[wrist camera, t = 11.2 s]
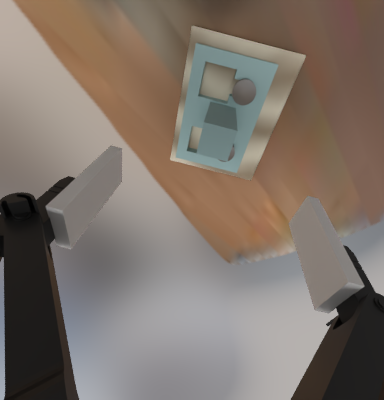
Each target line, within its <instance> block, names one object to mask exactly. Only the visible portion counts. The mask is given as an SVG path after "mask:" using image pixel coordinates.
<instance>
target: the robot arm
mask: <svg viewBox="0 0 384 400" xmlns="http://www.w3.org/2000/svg"><path fill="white" fill-rule="evenodd" d="M121 182H122V148H118V147H114V146H110V147H109V148H108V149H107V150H106V151H105V152H104V153H102V154H101V155H100V156H99V157H98V158H97V159H96V160H95V161H94V162H93V163H92V164H91V165H89V166H88V167H87V168H86V169H85V170H84V171H83V172H82V173H81V174H80V175H79V176H78V177H77V178H73V177H69V176H68V177H66V178H64V179H61V180H59V181H58V182H57V183H56V184H55V185H54V186H53V187H51V188H50V189H49V190H48V191H46V192H45V193H44V194H43V195H42V196H41V197H39V198H38V199H37V200H35V198H34V196H33V195H31V194H29V193H14V194H9V195H7V196H5V197H3V198H2V199H1V200H0V213H1V214H0V261H1V259H2V257H4V298H5V299H4V305H5V306H4V307H5V398H4V400H79V398H78V394H77V390H76V385H75V381H74V374H73V369H72V363H71V358H70V352H69V347H68V341H67V335H66V330H65V324H64V319H63V314H62V308H61V303H60V297H59V291H58V286H57V280H56V275H55V269H54V264H53V258H52V252H51V248H50V243H51V242H52V241H53V240H54V239H55V241H56V245H57V246H60V247H64V248H68V249H72V248H73V246H74V245H75V243H76V242H77V241H78V239H79V238H80V237H81V236H82V234H83V233H84V232H85V230H86V229H87V227H88V226H89V225H90V223H91V222H92V221H93V219H94V218H95V217H96V215H97V214H98V213H99V211H100V210H101V208H102V207H103V206H104V204H105V203H106V202H107V201H108V199H109V198H110V196H111V195H112V194H113V192H114V191H115V190H116V188H117V187H118V186H119V184H120V183H121ZM289 226H290V230H291V233H292V236H293V240H294V243H295V246H296V250H297V253H298V256H299V260H300V263H301V266H302V269H303V273H304V276H305V279H306V283H307V286H308V289H309V293H310V296H311V299H312V302H313V306H314V309H315V310H317V311H321V312H325V313H330V312H331V311H333V310H334V309H335V308H336V309H337V312H338V314H339V315H338V316H336V317H335V318H334V319H332V320H331V321H330V322H328V323H327V324H326V325H327V326H329V325H330V324H331V326H330V328H329V330H328V331H327V333H326V335H325V337H324V339H323V341H322V342H321V344H320V346H319V348H318V350H317V352H316V354H315V355H314V357H313V360H312V361H311V363H310V365H309V367H308V369H307V370H306V372H305V374H304V376H303V378H302V380H301V381H300V383H299V385H298V387H297V389H296V391H295V393H294V394H293V397H292V398H291V400H384V296H382V295H380V294H378V293H376V292H375V291H374V289H373V287H372V285H371V283H370V282H369V280H368V278H367V276H366V274H365V273H364V271H363V270H362V267H361V265H360V264H359V263H358V260H357V258H356V257H355V255H354V253H353V252H352V251H351V250H350V249H349V248H348V247H347V246H344V245H343V244H342V242H341V241H340V239H339V237H338V235H337V233H336V231H335V229H334V227H333V225H332V223H331V222H330V220H329V218H328V216H327V214H326V212H325V210H324V208H323V206H322V205H321V203H320V201H319V199H318V198H314V197H310V196H307V197H306V199H305V200H304V202H303V203H302V205H301V206H300V208H299V209H298V211H297V212H296V214H295V215H294V217H293V218H292V220H291V221H290V222H289Z"/></svg>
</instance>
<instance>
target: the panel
mask: <svg viewBox="0 0 384 400" xmlns="http://www.w3.org/2000/svg"><path fill="white" fill-rule="evenodd" d="M206 62H210V63H214V64H218V65H222V66H225V67H229V68H233V69H237V70H236V73H235V77H234V78H235V79H237V80H241V79H249V80H251V81H252V82H253V83H254V85H255V87H256V96H255V98H254V100H253V101H252V102H251V103H249V104H247V105H239V104H237V103H236V102H235V101H234V99H233V96H232V94H229V98H228V101H225V100H221V99H217V98H213V97H209V96H205V95H201V94H199V93H200V88H201V83H202V79H203V74H204V69H205V64H206ZM277 68H278V64H276V63H272V62H268V61H264V60H260V59H257V58H253V57H249V56H245V55H241V54H238V53H234V52H230V51H226V50H222V49H219V48H215V47H211V46H207V45H203V44H200V43H196V45H195V51H194V57H193V62H192V68H191V73H190V79H189V85H188V90H187V96H186V102H185V107H184V113H183V118H182V124H181V130H180V135H179V141H178V147H177V152H176V158H180V159H184V160H188V161H192V162H196V163H200V164H203V165H207V166H211V167H215V168H219V169H223V170H227V171H231V172H235V173H237V171H238V168H239V166H240V163H241V161H242V158H243V156H244V153H245V150H246V148H247V145H248V143H249V140H250V137H251V135H252V132H253V130H254V127H255V125H256V122H257V119H258V117H259V114H260V112H261V109H262V106H263V104H264V101H265V99H266V96H267V93H268V91H269V88H270V86H271V83H272V81H273V78H274V75H275V73H276V70H277ZM192 126H195V127H198V128H202V132H201V136H200V140H199V144H198V149H193V148H189V147H188V145H189V140H190V136H191V131H192ZM233 145H234V148H235V154H234V157H233V158H232V159H231V160H230V161H228V158H229V155H230V152H231V149H232V146H233ZM218 159H219V160H218ZM220 160H223V161H227V162H222V161H220Z"/></svg>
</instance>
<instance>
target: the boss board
mask: <svg viewBox="0 0 384 400" xmlns="http://www.w3.org/2000/svg"><path fill="white" fill-rule="evenodd" d="M196 43H200V44H203V45H207V46H211V47H215V48H219V49H222V50H226V51H230V52H234V53H238V54H241V55H245V56H249V57H253V58H257V59H260V60H264V61H268V62H272V63H276V64H278V68H277V70H276V73H275V75H274V78H273V81H272V83H271V86H270V88H269V91H268V93H267V96H266V99H265V101H264V104H263V106H262V109H261V112H260V114H259V117H258V119H257V122H256V125H255V127H254V130H253V132H252V135H251V137H250V140H249V143H248V145H247V148H246V150H245V153H244V156H243V158H242V161H241V163H240V166H239V168H238V171H237V173H235V172H231V171H227V170H223V169H219V168H215V167H211V166H207V165H203V164H200V163H196V162H192V161H188V160H184V159H180V158H176V152H177V147H178V141H179V135H180V130H181V124H182V118H183V113H184V107H185V102H186V96H187V90H188V85H189V79H190V73H191V68H192V62H193V57H194V51H195V45H196ZM305 57H306V55H303V54H299V53H295V52H291V51H287V50H284V49H280V48H276V47H272V46H268V45H265V44H261V43H257V42H253V41H249V40H246V39H242V38H238V37H234V36H230V35H227V34H223V33H219V32H215V31H211V30H208V29H204V28H200V27H196V26H192V28H191V34H190V41H189V47H188V53H187V59H186V65H185V71H184V78H183V84H182V90H181V96H180V102H179V108H178V115H177V121H176V127H175V133H174V139H173V146H172V152H171V158H170V160H172V161H176V162H180V163H184V164H188V165H192V166H196V167H200V168H204V169H208V170H212V171H215V172H219V173H223V174H227V175H231V176H235V177H239V178H243V179H247V180H251V179H252V177H253V175H254V172H255V170H256V168H257V166H258V163H259V161H260V159H261V157H262V154H263V152H264V150H265V148H266V145H267V143H268V141H269V139H270V136H271V134H272V132H273V130H274V127H275V125H276V123H277V120H278V118H279V116H280V114H281V111H282V109H283V107H284V105H285V102H286V100H287V98H288V96H289V93H290V91H291V89H292V87H293V84H294V82H295V80H296V78H297V75H298V73H299V71H300V69H301V66H302V64H303V62H304V60H305ZM236 70H237V69H233V68H229V67H225V66H222V65H218V64H214V63H210V62H206V64H205V69H204V74H203V79H202V83H201V88H200V93H199V94H201V95H205V96H209V97H213V98H217V99H221V100H225V101H228V98H229V94H232V96H233V99H234V101H235V102H236V103H237V104H239V105H247V104H249V103H251V102H252V101H253V100H254V98H255V96H256V87H255V85H254V83H253V82H252V81H251V80H249V79H241V80H237V79H235V78H234V77H235V73H236ZM201 132H202V128H198V127H195V126H192V131H191V136H190V140H189V145H188V147H189V148H193V149H198V144H199V140H200V136H201ZM234 154H235V148H234V145H233V146H232V149H231V152H230V155H229V158H228V161H230V160H231V159H232V158H233V157H234ZM218 160H219V159H218ZM220 161H222V162H227V161H223V160H220Z"/></svg>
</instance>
